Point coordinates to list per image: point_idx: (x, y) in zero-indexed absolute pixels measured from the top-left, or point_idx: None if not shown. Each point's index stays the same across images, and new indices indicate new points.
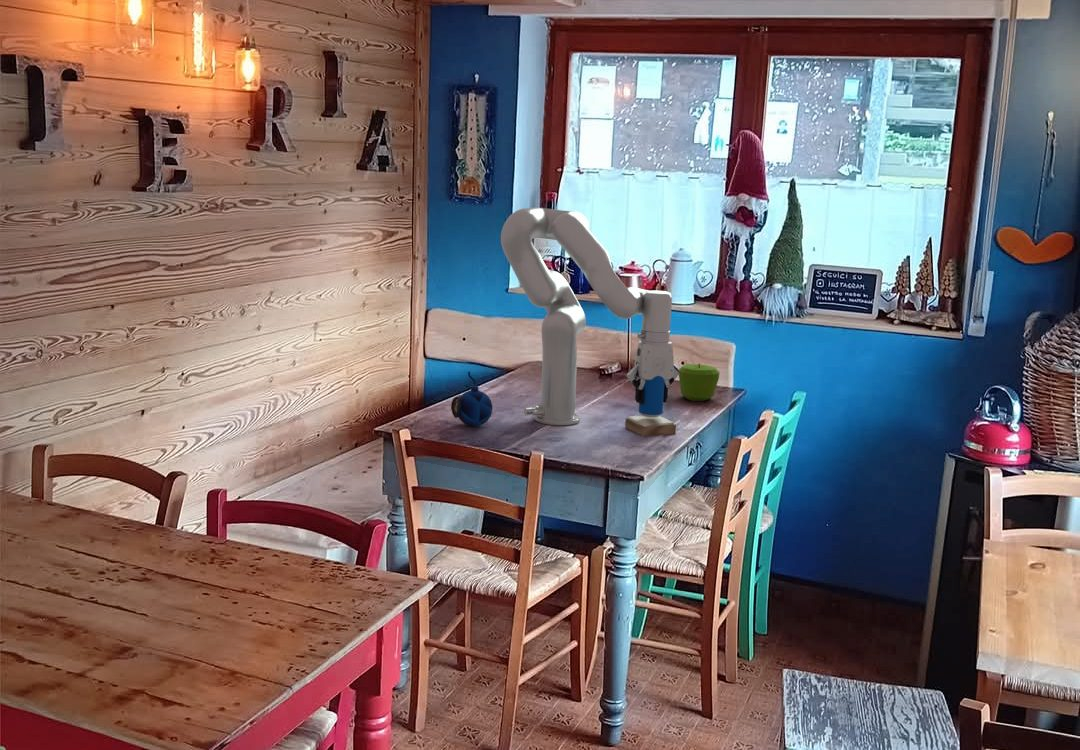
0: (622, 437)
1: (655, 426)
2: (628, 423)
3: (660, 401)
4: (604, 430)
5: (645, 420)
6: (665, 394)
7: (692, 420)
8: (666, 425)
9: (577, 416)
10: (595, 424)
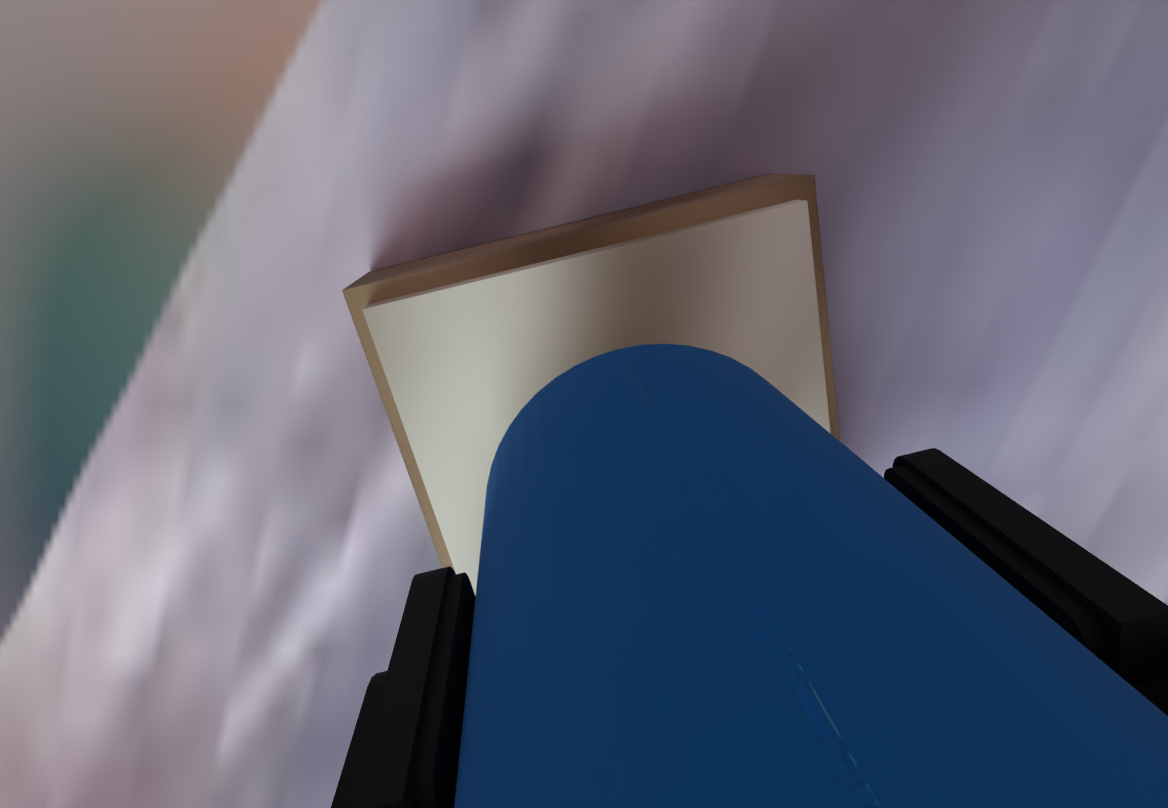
0: (1006, 142)
1: (642, 218)
2: None
3: (584, 451)
4: (1046, 419)
5: None
6: (425, 668)
7: (91, 743)
8: (483, 253)
9: None
10: None
